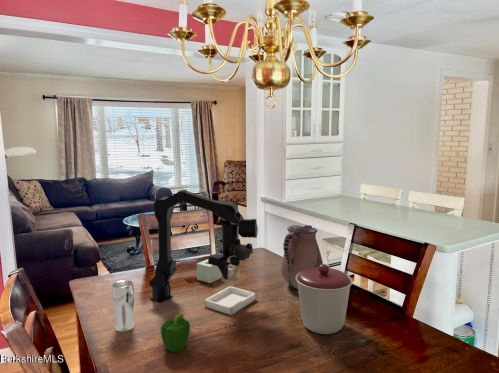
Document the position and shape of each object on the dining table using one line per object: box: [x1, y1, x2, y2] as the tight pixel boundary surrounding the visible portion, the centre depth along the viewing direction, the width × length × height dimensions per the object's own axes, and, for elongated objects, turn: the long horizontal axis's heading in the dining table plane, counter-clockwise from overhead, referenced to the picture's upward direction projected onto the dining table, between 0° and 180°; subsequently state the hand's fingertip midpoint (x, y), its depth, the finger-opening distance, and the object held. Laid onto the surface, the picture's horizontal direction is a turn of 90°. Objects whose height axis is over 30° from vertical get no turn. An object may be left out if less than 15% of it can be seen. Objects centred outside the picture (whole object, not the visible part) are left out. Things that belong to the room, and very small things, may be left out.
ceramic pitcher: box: [280, 224, 324, 290], centre depth 151 cm, size 18×21×25 cm
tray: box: [204, 285, 257, 316], centre depth 138 cm, size 16×13×2 cm
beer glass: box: [111, 279, 135, 333], centre depth 120 cm, size 7×7×15 cm
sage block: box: [196, 258, 221, 284], centre depth 162 cm, size 8×8×8 cm
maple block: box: [220, 264, 241, 284], centre depth 136 cm, size 5×5×5 cm
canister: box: [295, 263, 353, 335], centre depth 119 cm, size 18×18×21 cm
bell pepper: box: [160, 313, 191, 353], centre depth 108 cm, size 8×8×10 cm
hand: (230, 277), depth 137 cm, fingers closed on maple block, 5 cm apart
